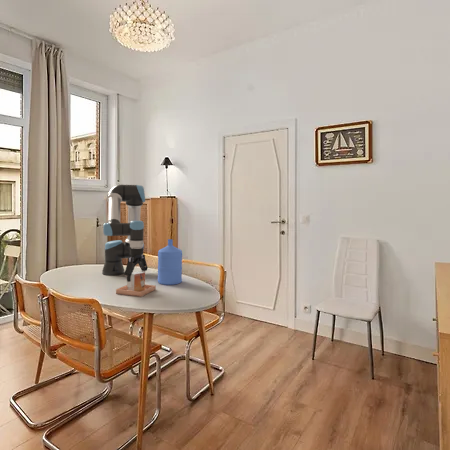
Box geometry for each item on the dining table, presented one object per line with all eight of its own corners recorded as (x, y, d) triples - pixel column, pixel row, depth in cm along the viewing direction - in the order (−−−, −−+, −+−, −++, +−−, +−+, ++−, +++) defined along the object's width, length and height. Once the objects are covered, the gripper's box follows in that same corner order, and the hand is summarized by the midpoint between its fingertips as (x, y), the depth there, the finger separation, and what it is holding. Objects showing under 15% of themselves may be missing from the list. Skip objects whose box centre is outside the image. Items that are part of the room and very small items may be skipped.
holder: (132, 287, 200) (132, 282, 199) (155, 289, 195) (155, 285, 195) (116, 293, 184) (116, 289, 184) (141, 296, 180) (141, 292, 179)
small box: (134, 293, 185) (134, 274, 184) (127, 291, 188) (127, 273, 187) (145, 290, 191) (145, 272, 190) (138, 288, 194) (138, 270, 194)
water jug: (177, 285, 205) (177, 241, 203) (153, 284, 208) (154, 240, 206) (185, 280, 220) (185, 238, 218) (163, 278, 223) (163, 237, 222)
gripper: (129, 251, 175) (129, 290, 176) (153, 245, 199) (153, 280, 200) (117, 250, 177) (117, 288, 179) (142, 244, 201) (142, 279, 202)
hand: (136, 284), depth 189 cm, fingers open, 13 cm apart
